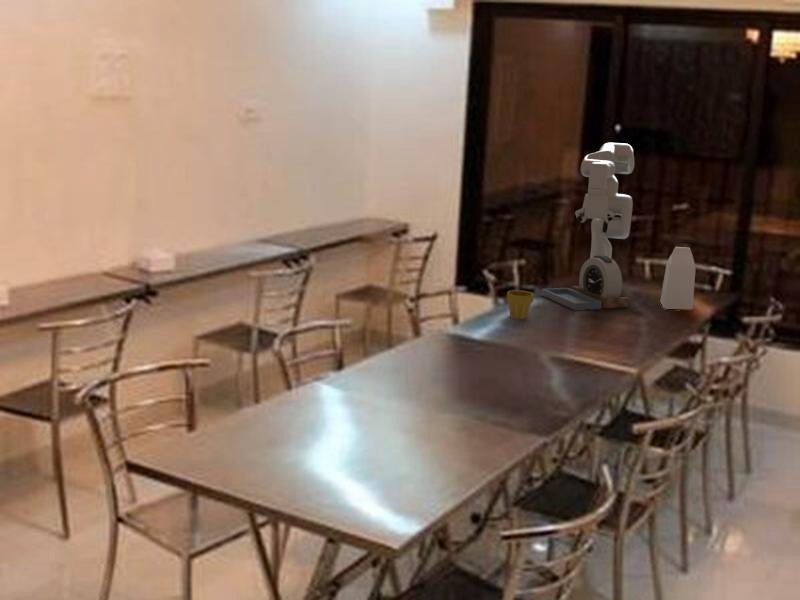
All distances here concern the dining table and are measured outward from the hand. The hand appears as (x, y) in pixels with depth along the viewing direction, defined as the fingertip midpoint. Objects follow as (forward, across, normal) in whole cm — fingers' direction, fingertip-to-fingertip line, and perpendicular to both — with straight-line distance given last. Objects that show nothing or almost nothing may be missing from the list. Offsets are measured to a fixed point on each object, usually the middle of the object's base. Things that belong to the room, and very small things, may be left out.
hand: (593, 231), depth 453 cm
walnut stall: (+30, -5, 0) cm, 31 cm away
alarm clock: (+30, -5, 0) cm, 31 cm away
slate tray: (+30, +8, +3) cm, 31 cm away
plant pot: (+30, +38, +31) cm, 57 cm away
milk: (+31, -37, +9) cm, 49 cm away
